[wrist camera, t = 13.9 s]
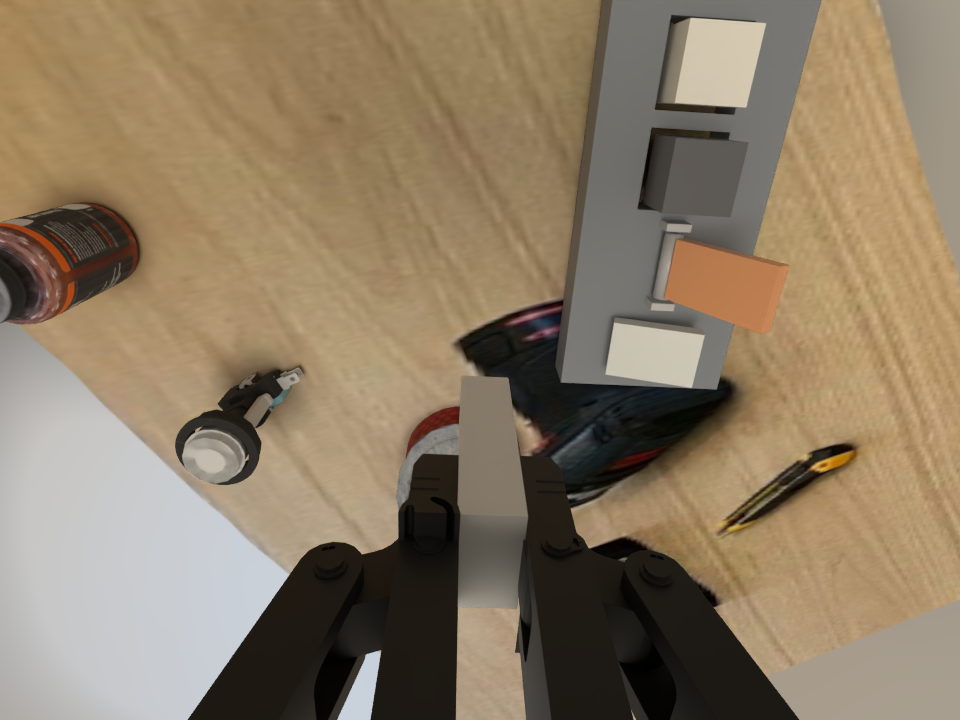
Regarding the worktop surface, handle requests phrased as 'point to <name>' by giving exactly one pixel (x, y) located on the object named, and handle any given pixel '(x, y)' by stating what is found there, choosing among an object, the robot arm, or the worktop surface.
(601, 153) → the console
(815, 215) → the worktop surface
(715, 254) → the paddle lever
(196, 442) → the push button
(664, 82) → the ivory button
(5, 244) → the supplement bottle
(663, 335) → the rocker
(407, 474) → the canned food
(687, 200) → the dark gray button
